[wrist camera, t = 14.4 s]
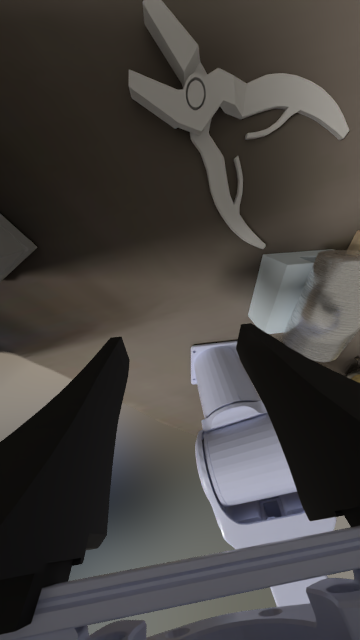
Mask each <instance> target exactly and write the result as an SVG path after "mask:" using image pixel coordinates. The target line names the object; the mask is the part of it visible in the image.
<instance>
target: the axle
mask: <svg viewBox="0 0 360 640" xmlns="http://www.w3.org/2000/svg"><path fill="white" fill-rule="evenodd" d="M359 330H360V251H354V250H328V251H322V252H319V253H318V255H317V257H316V259H315V262H314V264H313V266H312V268H311V271H310V273H309V275H308V278H307V280H306V282H305V285H304V287H303V289H302V291H301V294H300V296H299V298H298V301H297V303H296V305H295V308H294V310H293V312H292V314H291V317H290V319H289V321H288V324H287V326H286V328H285V331H284V333H283V335H282V340H283V342H284V344H285V345H286V346H288V347H290V348H291V349H293V350H295V351H296V352H298V353H300V354H302V355H303V356H305V357H307V358H309V359H311V360H313V361H317V362H331V361H334V360H336V359H337V358H338V356H339V355H340V354H341V353H342V351H343V350H344V349H345V347H346V346H347V345H348V344H349V342H350V341H351V340H352V339H353V337H354V336H355V335H356V334H357V332H358V331H359Z"/></svg>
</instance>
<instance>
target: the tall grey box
mask: <svg viewBox="0 0 360 640" xmlns="http://www.w3.org/2000/svg"><path fill="white" fill-rule="evenodd" d="M36 248H38V247H37V246H35V245H34V244H33V242H32V241H31V240H29V239H28V238H27V237H26V236H24V235H23V234H22V233H21V232H20V231H19V230H18V229H17V228H16V227H14V226H13V225H12V224H11V223H10V222H9V221H8V220H7V219H6V218H4V217H3V216H2V215H1V214H0V282H1V281H2V280H3V279H4V278H5V277H6V276H7V275H8V274H9V273H10V272H11V271H13V270H14V269H15V268H16V267H17V266H18V265H19V264H20V263H21V262H22V261H23V260H24V259H26V258H27V257H28V256H29V255H30V254H31V253H32V252H33V251H34V250H35V249H36Z"/></svg>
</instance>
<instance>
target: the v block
mask: <svg viewBox="0 0 360 640" xmlns="http://www.w3.org/2000/svg"><path fill="white" fill-rule="evenodd" d="M328 250H334V249H327V250H314V251H301V252H287V253H274V254H263V256H262V260H261V265H260V269H259V273H258V277H257V281H256V285H255V289H254V293H253V297H252V301H251V305H250V309H249V313H248V316H249V318H250V319H251V320H252V321H253V322H254V324H255V325H256V326H257V327H258V328H259V329H261V330H263V331H264V332H266V333H267V334H273V333H283V332H284V331H285V328H286V326H287V324H288V321H289V319H290V317H291V314H292V312H293V310H294V308H295V305H296V303H297V301H298V298H299V296H300V294H301V291H302V289H303V287H304V285H305V282H306V280H307V278H308V275H309V273H310V271H311V268H312V266H313V264H314V262H315V259H316V257H317V255H318V253H319V252H322V251H328Z"/></svg>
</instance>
